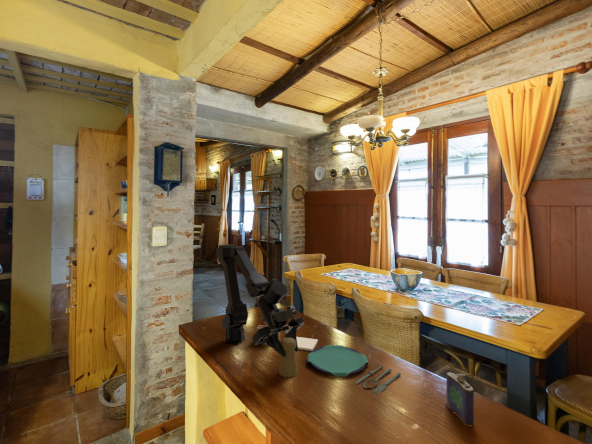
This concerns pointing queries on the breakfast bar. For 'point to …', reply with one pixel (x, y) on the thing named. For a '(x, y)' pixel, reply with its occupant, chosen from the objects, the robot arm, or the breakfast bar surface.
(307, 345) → the plate
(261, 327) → the napkin holder
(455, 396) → the flask
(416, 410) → the breakfast bar surface
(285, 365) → the cork
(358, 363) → the cutlery set
